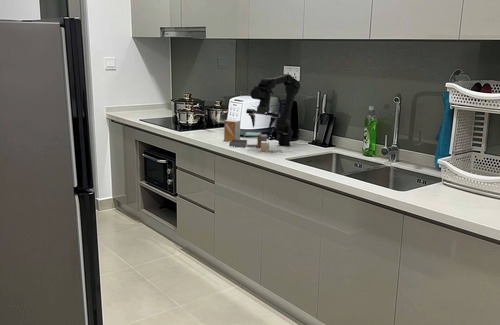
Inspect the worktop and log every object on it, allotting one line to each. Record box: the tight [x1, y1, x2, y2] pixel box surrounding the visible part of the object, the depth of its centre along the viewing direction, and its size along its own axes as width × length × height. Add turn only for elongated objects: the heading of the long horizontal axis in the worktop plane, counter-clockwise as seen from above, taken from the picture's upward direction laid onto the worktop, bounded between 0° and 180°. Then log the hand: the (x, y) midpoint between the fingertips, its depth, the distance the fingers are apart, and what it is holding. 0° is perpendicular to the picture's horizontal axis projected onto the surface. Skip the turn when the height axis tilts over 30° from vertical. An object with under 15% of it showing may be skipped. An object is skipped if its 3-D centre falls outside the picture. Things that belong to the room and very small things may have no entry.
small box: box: [223, 119, 241, 142], centre depth 300 cm, size 8×6×13 cm
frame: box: [256, 131, 263, 149], centre depth 287 cm, size 5×13×8 cm, turn 175°
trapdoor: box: [244, 131, 268, 142], centre depth 287 cm, size 12×9×4 cm
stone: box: [260, 142, 270, 152], centre depth 274 cm, size 5×5×4 cm
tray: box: [228, 139, 248, 148], centre depth 288 cm, size 9×12×2 cm
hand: (261, 128), depth 273 cm, fingers open, 9 cm apart
